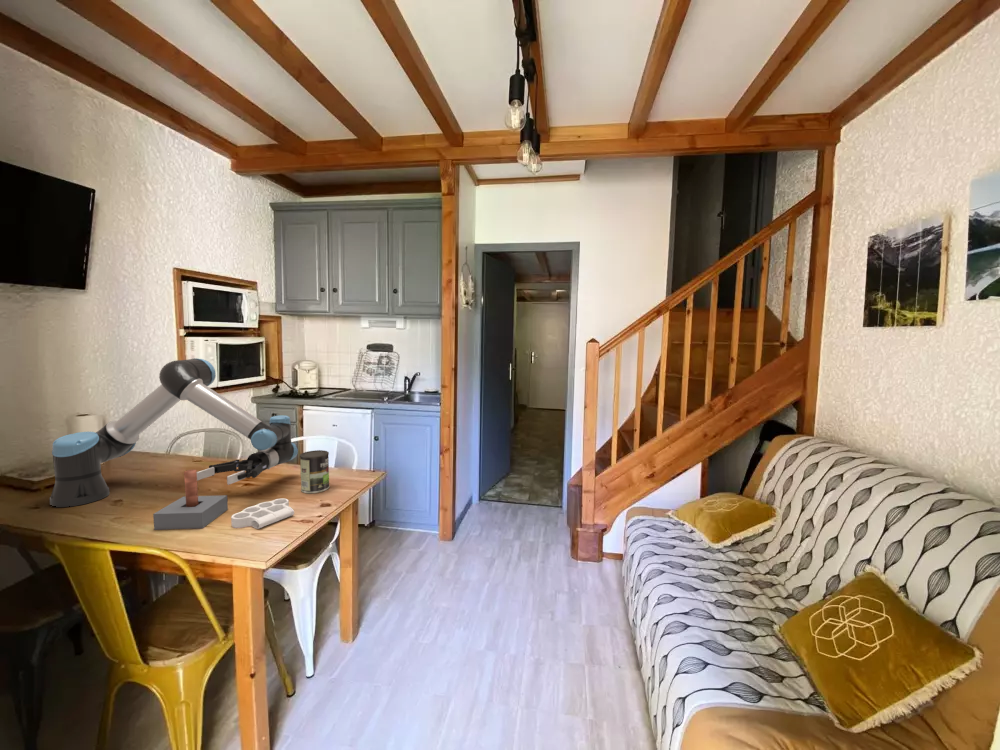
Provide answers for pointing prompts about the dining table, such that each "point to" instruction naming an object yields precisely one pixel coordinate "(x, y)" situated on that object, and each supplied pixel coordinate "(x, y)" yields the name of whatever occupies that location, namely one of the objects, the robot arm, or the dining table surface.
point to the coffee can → (314, 471)
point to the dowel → (191, 488)
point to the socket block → (190, 513)
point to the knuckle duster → (262, 514)
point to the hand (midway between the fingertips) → (211, 478)
